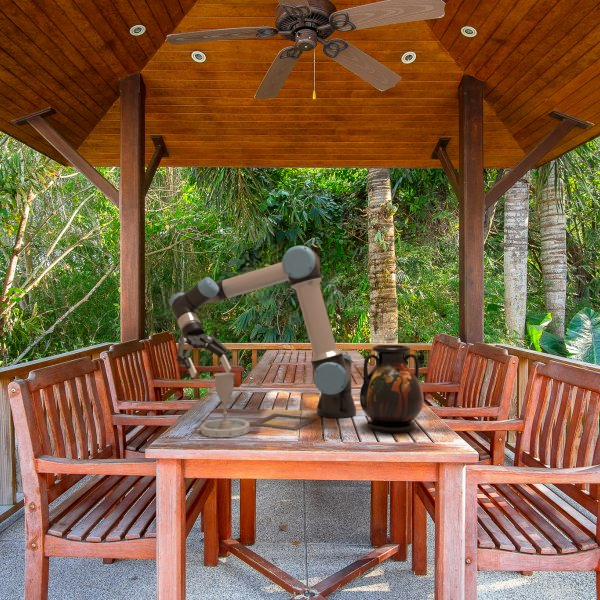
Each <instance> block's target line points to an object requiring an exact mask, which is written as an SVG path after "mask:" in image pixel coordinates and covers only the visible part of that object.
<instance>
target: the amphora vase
mask: <svg viewBox="0 0 600 600" xmlns="http://www.w3.org/2000/svg"><path fill="white" fill-rule="evenodd" d="M372 351H374V352H376V353H377V355H378V356H377V355H376V354H373V353H371V354H370V353H369V354H368V355H366V356H365V358H364V360H363V383H362V385H361V387H360V391H359V392H360V393H359V404H360V407H361V409H362V411H363V412H364V414H365V415H366V416H367V418H369V419H368V420H367V422H366V423H367V427H368V428H369V429H371V430H372V431H375V432H380V433H385V434H404V433H409V432H412V431H413V430H415V429H416V427H417V424H416V422H415V419H416V418H417V417H418V416H419V414H420V413H421V411H422V409H423V407H424V401H425V400H424V397H425V396H424V392H423V388H422V386H421V384H420V364H419V362H420V361H419V359H418V357H417V355H415V354H414V353H408V352H410V351H411V347H410V346H408V345H401V344H378V345H374V346H373V347H372ZM406 353H408V354H406ZM405 354H406V355H405ZM410 358H412V359H413V362H414V371H412V370H411V368H410V367H409V366H408V360H409V359H410ZM370 359H374V360H375V365H374V366H373V367H372V368H371V370H370V371H369V372H368V363H369V360H370Z"/></svg>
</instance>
